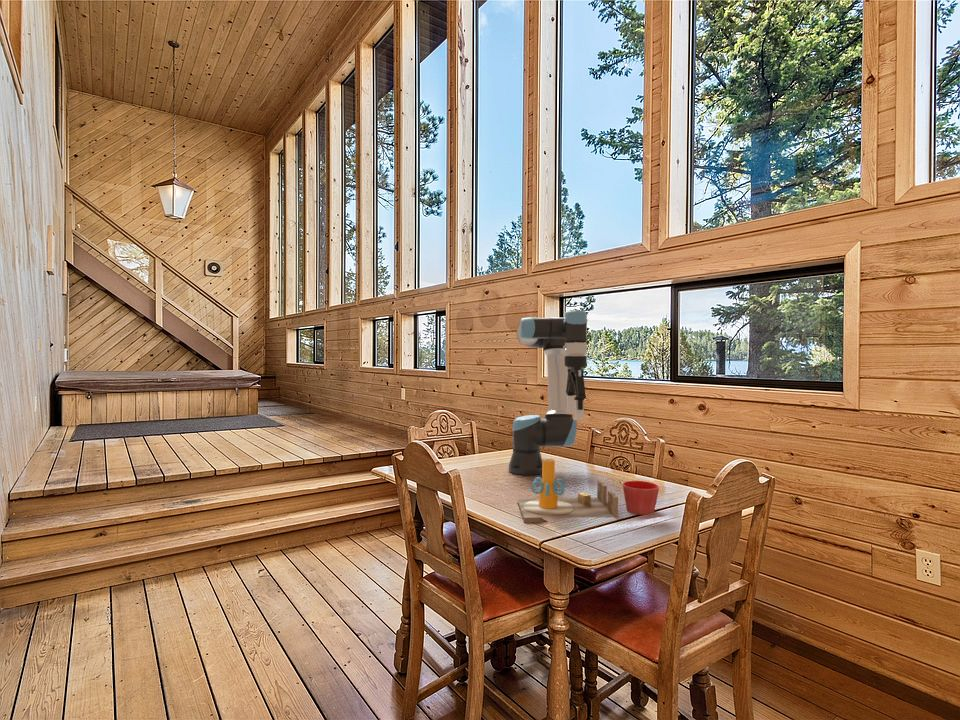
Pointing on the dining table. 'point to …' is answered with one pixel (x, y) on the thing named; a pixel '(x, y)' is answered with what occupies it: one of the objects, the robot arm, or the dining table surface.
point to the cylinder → (548, 485)
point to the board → (571, 507)
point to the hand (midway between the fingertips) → (575, 416)
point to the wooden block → (584, 498)
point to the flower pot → (640, 496)
